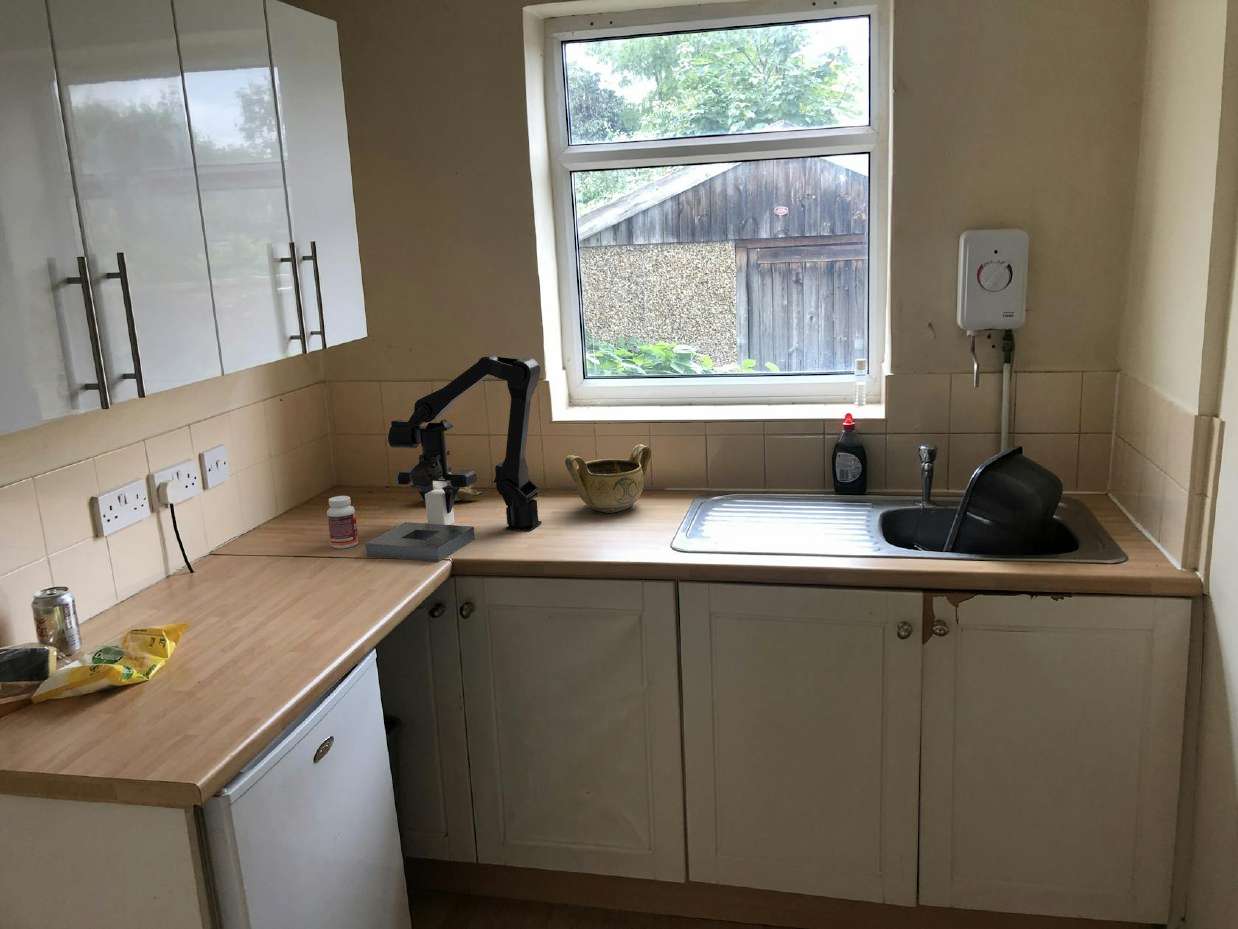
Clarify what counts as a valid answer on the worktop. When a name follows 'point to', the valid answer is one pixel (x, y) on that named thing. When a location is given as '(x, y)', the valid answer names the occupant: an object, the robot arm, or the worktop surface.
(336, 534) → the pill bottle
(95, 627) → the worktop surface
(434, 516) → the white rectangular block
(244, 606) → the worktop surface
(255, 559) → the worktop surface
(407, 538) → the jig plate
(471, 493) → the ceramic sculpture
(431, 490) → the robot arm
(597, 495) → the ceramic bowl
